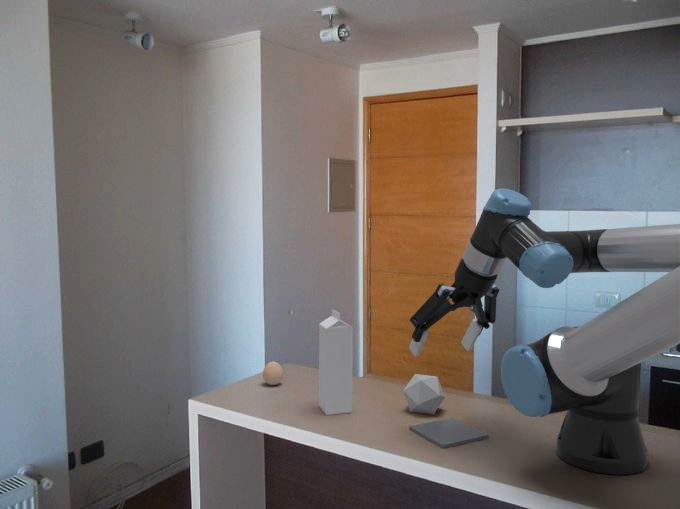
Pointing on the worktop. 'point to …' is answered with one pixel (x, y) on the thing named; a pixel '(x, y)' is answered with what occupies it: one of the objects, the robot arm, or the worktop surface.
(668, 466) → the worktop surface
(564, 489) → the worktop surface
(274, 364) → the egg
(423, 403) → the die
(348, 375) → the milk
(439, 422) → the coaster
